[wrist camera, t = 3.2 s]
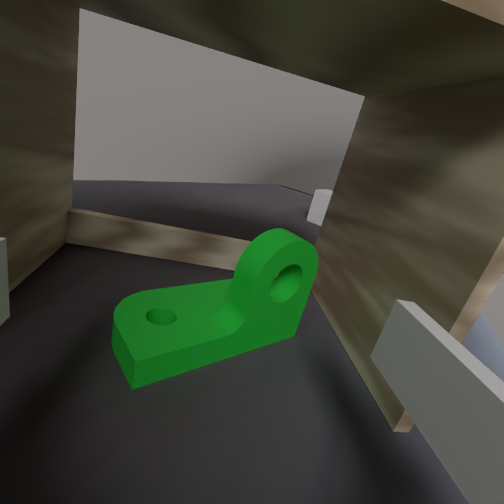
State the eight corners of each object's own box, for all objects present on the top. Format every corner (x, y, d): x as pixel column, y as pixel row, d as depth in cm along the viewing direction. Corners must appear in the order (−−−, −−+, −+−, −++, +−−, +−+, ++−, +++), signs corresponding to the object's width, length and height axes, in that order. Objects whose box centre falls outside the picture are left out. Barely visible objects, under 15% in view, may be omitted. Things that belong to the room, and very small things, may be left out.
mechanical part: (246, 296, 28) (269, 209, 25) (293, 337, 23) (328, 239, 21) (98, 323, 20) (108, 201, 17) (131, 392, 16) (150, 247, 13)
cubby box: (-142, 396, 12) (-369, -421, 5) (59, 236, 29) (64, -18, 22) (408, 432, 17) (645, 33, 11) (312, 279, 34) (380, 84, 27)
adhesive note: (318, 218, 64) (327, 189, 62) (345, 228, 61) (356, 198, 59) (305, 220, 59) (315, 189, 57) (335, 232, 57) (346, 199, 54)
